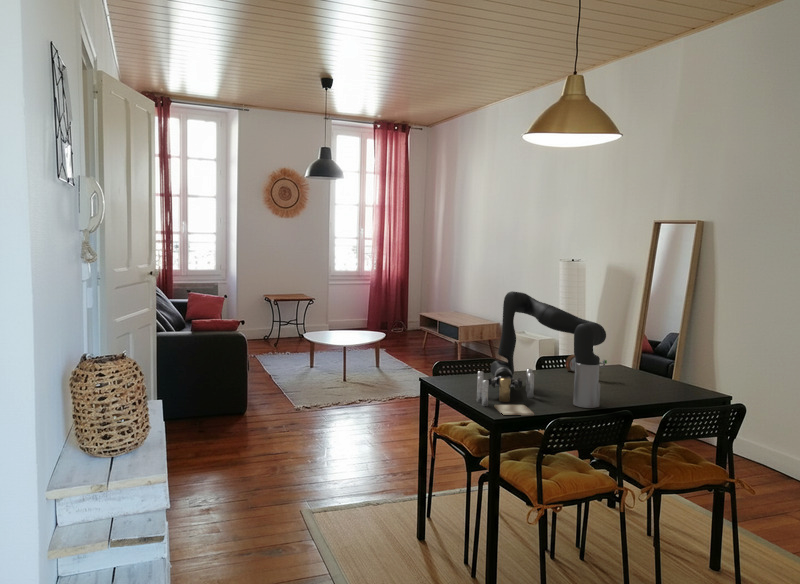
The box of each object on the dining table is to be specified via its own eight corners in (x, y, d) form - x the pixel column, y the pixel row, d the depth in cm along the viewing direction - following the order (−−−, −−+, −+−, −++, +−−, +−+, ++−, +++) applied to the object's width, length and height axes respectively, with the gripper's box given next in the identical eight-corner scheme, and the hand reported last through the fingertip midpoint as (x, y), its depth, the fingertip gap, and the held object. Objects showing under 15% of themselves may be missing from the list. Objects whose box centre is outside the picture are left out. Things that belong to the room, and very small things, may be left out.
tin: (584, 369, 317) (585, 353, 316) (589, 370, 314) (590, 354, 314) (564, 371, 309) (565, 355, 308) (569, 372, 306) (569, 356, 306)
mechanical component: (605, 381, 290) (607, 360, 289) (583, 379, 292) (584, 358, 291) (605, 379, 292) (606, 359, 292) (582, 378, 294) (584, 357, 294)
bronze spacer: (507, 399, 251) (508, 377, 250) (511, 401, 246) (512, 380, 245) (497, 399, 250) (498, 377, 249) (500, 401, 246) (501, 380, 245)
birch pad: (523, 406, 240) (523, 404, 239) (534, 415, 228) (534, 413, 228) (494, 406, 238) (494, 404, 238) (503, 415, 226) (503, 413, 226)
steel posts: (530, 391, 265) (531, 368, 264) (550, 406, 242) (551, 381, 241) (467, 391, 261) (468, 368, 260) (481, 406, 238) (482, 381, 237)
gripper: (487, 367, 262) (487, 375, 246) (520, 369, 260) (523, 377, 244) (486, 384, 263) (487, 393, 247) (520, 386, 261) (522, 396, 245)
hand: (505, 385), depth 246 cm, fingers open, 8 cm apart
